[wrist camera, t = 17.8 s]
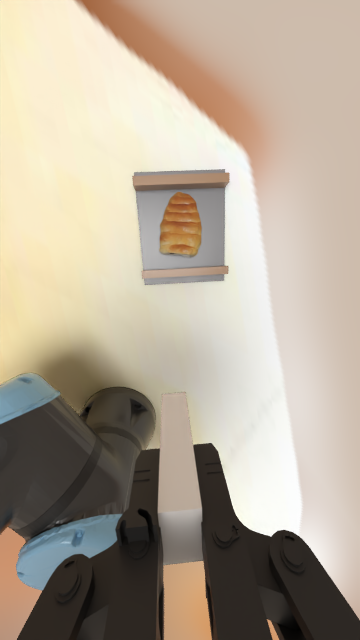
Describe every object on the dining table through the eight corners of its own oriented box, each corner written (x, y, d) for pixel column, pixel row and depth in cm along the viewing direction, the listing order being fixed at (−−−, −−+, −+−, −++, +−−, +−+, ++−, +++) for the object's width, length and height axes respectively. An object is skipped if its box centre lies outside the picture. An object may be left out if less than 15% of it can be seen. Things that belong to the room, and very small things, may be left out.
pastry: (161, 193, 33) (160, 185, 29) (203, 197, 34) (208, 189, 30) (159, 255, 36) (158, 255, 32) (198, 258, 36) (202, 258, 32)
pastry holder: (145, 284, 37) (143, 286, 34) (134, 174, 33) (131, 165, 30) (223, 280, 38) (228, 281, 35) (223, 171, 33) (229, 162, 30)
